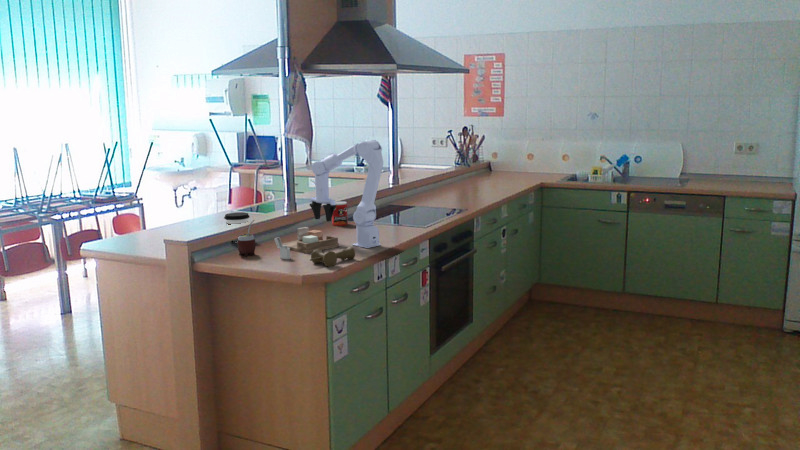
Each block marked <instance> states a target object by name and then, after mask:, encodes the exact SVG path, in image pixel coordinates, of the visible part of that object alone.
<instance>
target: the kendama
mask: <svg viewBox="0 0 800 450" xmlns="http://www.w3.org/2000/svg"><path fill="white" fill-rule="evenodd" d="M355 257H356V251H355V249H354V248H353V247H352V246H348V247H347V248H345V249H344V248H340V249H339V250H338V251H337V252H335V251H328V252H326V253H324V252H323V250H320V249H316V250H314V251H313V252H311V253H310V259H309V261H310V262H312V263H313V264H320V263H323V264H324V265H325V267H327V266H328V267H327V268H330V267H329V266H332V267H334V266H335V265H336V264H337V263H338V262H337V261H338V259H340V260H342V261H345V260H346V259H349V260H354V259H355Z"/></svg>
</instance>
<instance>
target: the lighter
mask: <svg viewBox="0 0 800 450" xmlns="http://www.w3.org/2000/svg"><path fill="white" fill-rule="evenodd" d="M273 240H274V243H275V245H276V247H277V249H279V256H280V259H282V260H290V259H291V250H290V248H287V245H282V241H281V238H280V237H279V236H278V237H275V238H274V239H273Z"/></svg>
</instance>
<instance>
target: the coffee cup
mask: <svg viewBox="0 0 800 450" xmlns="http://www.w3.org/2000/svg"><path fill="white" fill-rule="evenodd" d="M249 218H250V215H249V213H248V212H244V211H243V212H240V211H239V212H229V213H225V215H224V217H223V219H224V220H225V221H226V225H227V224H228V225H231V224H241V223H246V222H248V223H249Z"/></svg>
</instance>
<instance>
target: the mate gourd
mask: <svg viewBox="0 0 800 450" xmlns="http://www.w3.org/2000/svg"><path fill="white" fill-rule="evenodd" d="M254 221H255V219H253V220H252V221H250V223H248V224H249V225H248V228H247V234H244V235H240V236H239V237H238V241H237V242H236V244H237V250H238V254H239V256H244V257H245V258H247V257H248V256H255V255H256V253H255V250H256V237H255V236H254V235H253V234H250V230H251V227H252V224H253V223H254Z"/></svg>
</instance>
